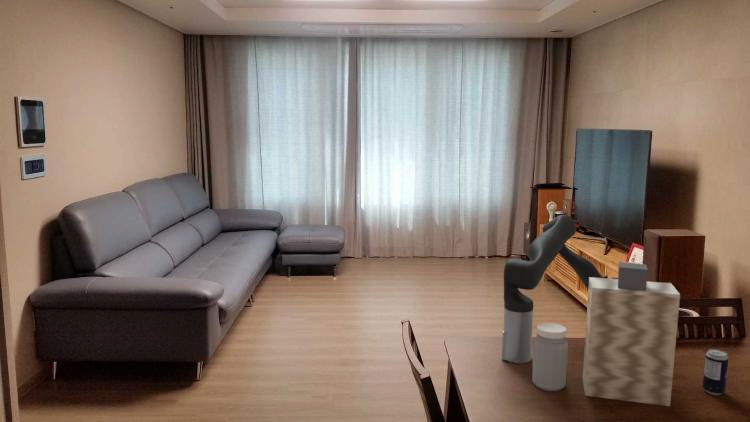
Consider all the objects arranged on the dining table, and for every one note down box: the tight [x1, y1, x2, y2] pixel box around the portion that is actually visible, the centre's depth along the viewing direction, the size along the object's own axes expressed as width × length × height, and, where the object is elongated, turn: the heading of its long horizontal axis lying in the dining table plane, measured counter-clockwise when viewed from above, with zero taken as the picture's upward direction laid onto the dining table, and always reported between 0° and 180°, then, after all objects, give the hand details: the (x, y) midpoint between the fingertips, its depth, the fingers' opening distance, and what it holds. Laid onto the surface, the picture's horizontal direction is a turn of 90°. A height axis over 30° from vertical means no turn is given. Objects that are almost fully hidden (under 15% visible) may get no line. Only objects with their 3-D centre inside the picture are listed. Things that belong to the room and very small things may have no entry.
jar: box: [531, 322, 569, 392], centre depth 168 cm, size 10×10×18 cm
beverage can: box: [701, 348, 729, 396], centre depth 165 cm, size 6×6×12 cm
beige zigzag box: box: [582, 277, 681, 407], centre depth 163 cm, size 22×11×32 cm, turn 74°
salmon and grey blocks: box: [617, 261, 648, 291], centre depth 165 cm, size 20×7×6 cm, turn 159°
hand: (621, 279), depth 181 cm, fingers open, 8 cm apart
